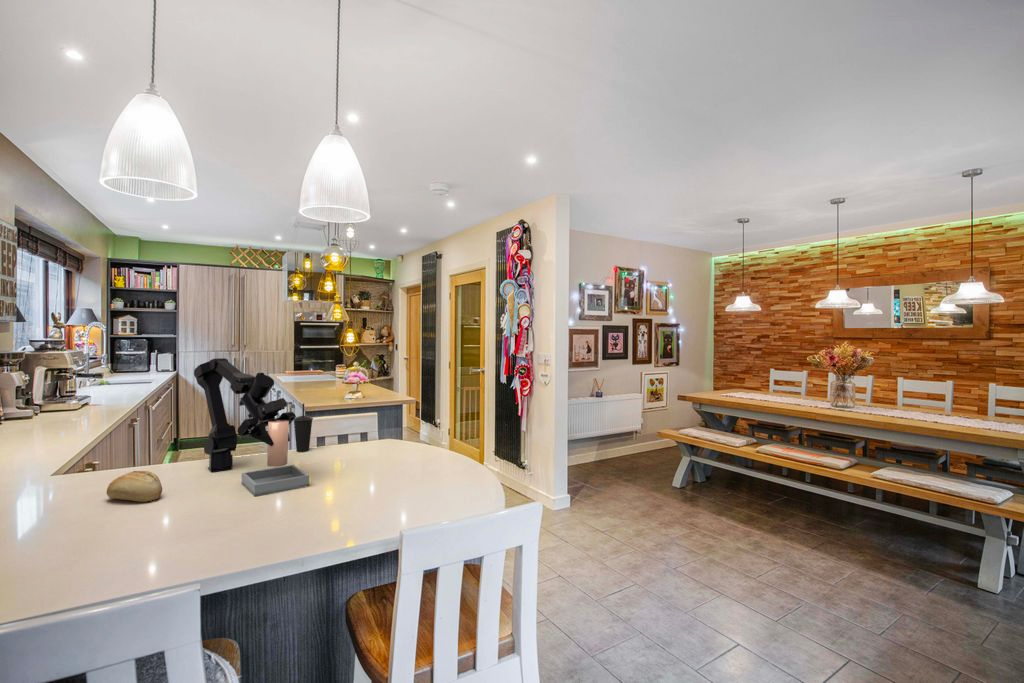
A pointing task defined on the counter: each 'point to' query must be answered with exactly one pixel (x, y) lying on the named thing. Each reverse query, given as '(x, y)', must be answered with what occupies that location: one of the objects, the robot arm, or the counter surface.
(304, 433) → the drinking cup
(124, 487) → the bread roll
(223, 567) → the counter surface
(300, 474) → the tray
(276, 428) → the canister
